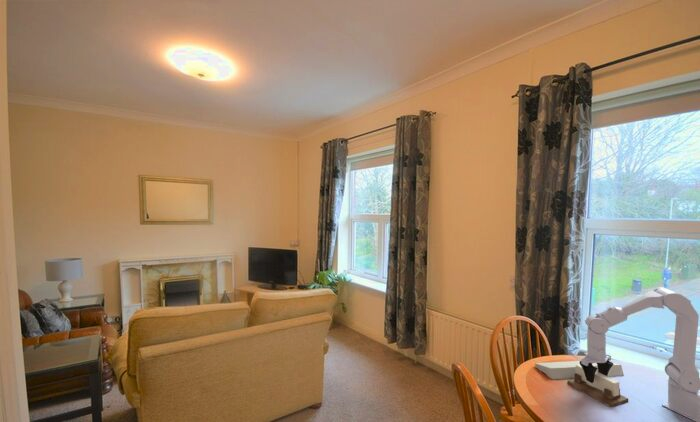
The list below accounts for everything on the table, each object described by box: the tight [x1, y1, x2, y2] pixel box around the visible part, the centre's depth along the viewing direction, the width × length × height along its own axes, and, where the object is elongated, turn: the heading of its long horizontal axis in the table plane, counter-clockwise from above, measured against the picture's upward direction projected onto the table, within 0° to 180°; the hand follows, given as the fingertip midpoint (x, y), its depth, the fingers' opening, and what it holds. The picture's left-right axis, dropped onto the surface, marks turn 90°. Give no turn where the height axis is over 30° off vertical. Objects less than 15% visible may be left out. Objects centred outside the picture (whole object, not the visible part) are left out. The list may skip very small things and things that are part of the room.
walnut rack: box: [566, 373, 629, 408], centre depth 118 cm, size 16×10×4 cm, turn 18°
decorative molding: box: [534, 360, 625, 381], centre depth 134 cm, size 34×5×10 cm
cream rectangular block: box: [576, 364, 620, 396], centre depth 118 cm, size 14×3×5 cm, turn 19°
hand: (596, 379), depth 118 cm, fingers open, 7 cm apart
